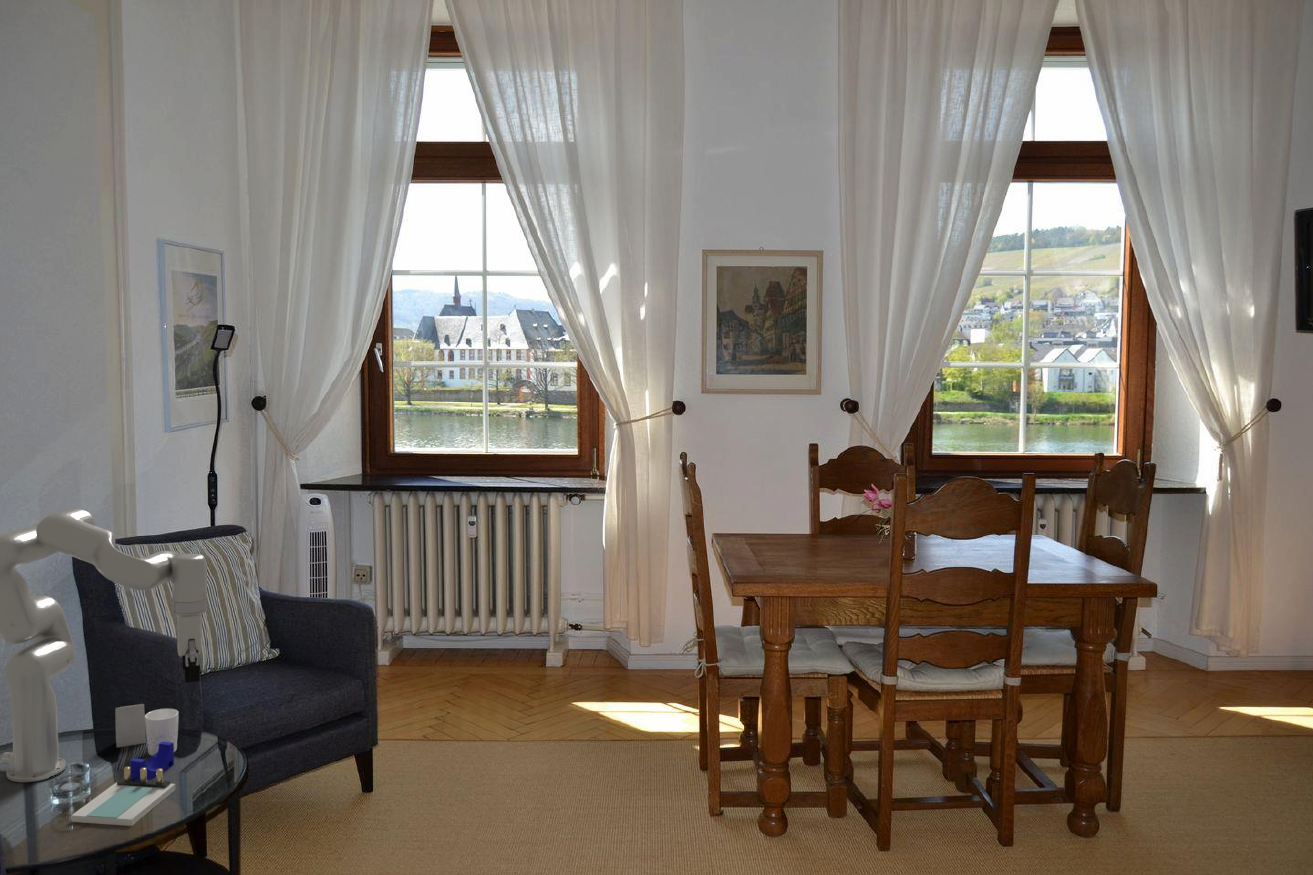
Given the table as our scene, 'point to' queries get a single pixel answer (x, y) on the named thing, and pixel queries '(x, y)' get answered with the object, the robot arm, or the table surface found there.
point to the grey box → (130, 725)
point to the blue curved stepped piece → (154, 761)
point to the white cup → (161, 728)
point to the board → (122, 805)
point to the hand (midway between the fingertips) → (191, 675)
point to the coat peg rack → (143, 779)
